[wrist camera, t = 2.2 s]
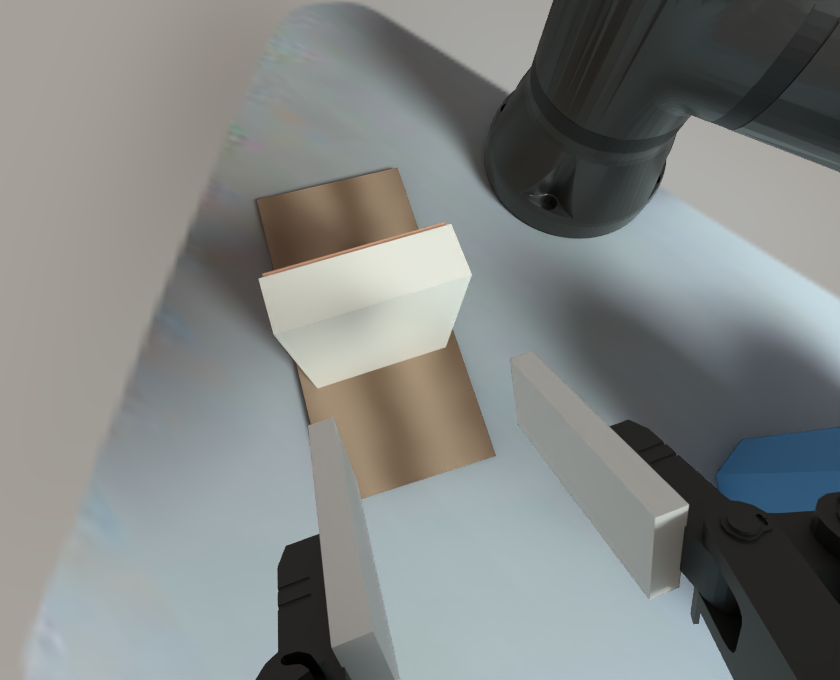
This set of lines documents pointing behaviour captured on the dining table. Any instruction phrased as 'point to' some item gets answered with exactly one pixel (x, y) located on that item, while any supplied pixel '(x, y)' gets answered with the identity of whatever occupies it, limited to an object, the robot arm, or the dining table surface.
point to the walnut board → (392, 385)
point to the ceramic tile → (368, 303)
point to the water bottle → (783, 470)
